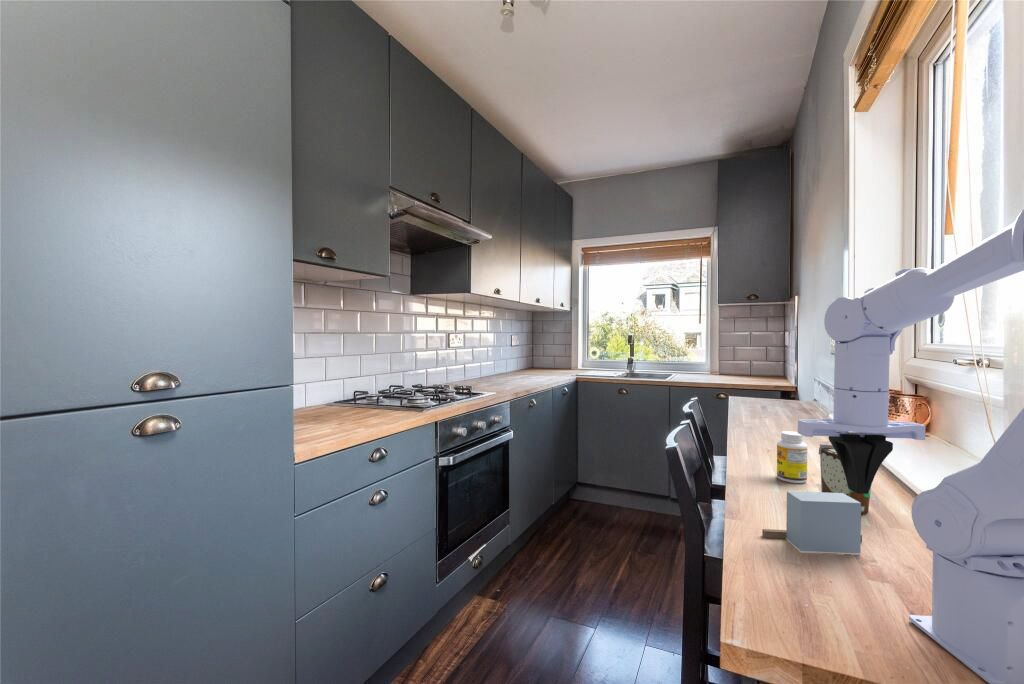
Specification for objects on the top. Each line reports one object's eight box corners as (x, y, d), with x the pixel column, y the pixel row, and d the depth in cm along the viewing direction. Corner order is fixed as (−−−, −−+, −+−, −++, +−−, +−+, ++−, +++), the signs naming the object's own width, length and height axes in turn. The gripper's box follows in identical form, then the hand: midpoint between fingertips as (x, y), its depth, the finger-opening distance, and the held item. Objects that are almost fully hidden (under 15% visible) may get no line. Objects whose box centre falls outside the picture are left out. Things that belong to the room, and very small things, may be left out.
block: (860, 555, 63) (861, 502, 63) (800, 552, 64) (801, 500, 64) (842, 542, 67) (842, 493, 67) (786, 540, 68) (786, 491, 68)
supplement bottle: (775, 474, 100) (776, 429, 100) (805, 478, 97) (805, 431, 97) (777, 481, 95) (778, 434, 95) (808, 485, 92) (809, 436, 92)
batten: (862, 541, 67) (862, 535, 67) (764, 537, 68) (764, 531, 68) (858, 539, 68) (858, 533, 68) (762, 535, 69) (762, 529, 69)
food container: (894, 522, 74) (894, 462, 74) (852, 519, 75) (853, 460, 75) (853, 496, 86) (853, 445, 86) (817, 494, 87) (818, 443, 87)
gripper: (897, 386, 62) (894, 483, 62) (787, 384, 63) (785, 478, 64) (940, 393, 55) (937, 502, 55) (815, 391, 56) (812, 497, 57)
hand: (858, 491), depth 59 cm, fingers closed
